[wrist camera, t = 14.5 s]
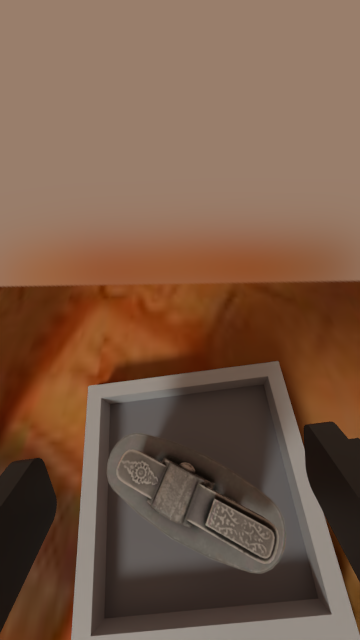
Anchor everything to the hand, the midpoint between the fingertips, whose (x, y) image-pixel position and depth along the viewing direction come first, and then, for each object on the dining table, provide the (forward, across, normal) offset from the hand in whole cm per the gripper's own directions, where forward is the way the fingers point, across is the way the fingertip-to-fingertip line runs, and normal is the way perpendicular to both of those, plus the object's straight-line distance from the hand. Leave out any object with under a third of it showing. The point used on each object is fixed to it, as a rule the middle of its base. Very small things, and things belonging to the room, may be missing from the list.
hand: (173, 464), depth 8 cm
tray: (+8, 0, +9) cm, 13 cm away
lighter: (+8, 0, +9) cm, 12 cm away
